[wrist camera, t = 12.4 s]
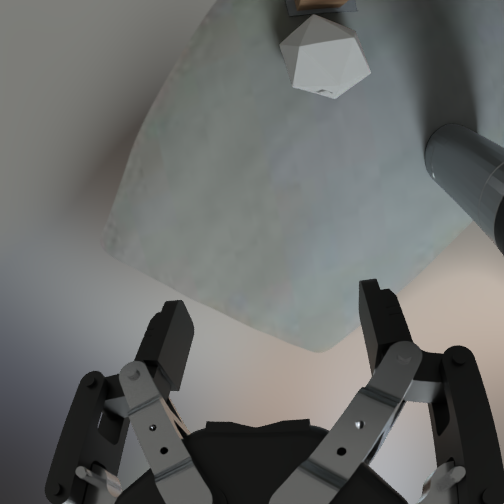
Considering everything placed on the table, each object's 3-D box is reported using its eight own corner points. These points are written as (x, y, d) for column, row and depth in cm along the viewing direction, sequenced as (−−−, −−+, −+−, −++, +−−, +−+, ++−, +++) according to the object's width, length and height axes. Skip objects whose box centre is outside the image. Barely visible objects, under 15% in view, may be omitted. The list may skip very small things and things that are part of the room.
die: (264, 52, 31) (279, 107, 28) (296, -7, 24) (323, 36, 20) (326, 70, 34) (349, 125, 31) (362, 20, 27) (398, 69, 23)
